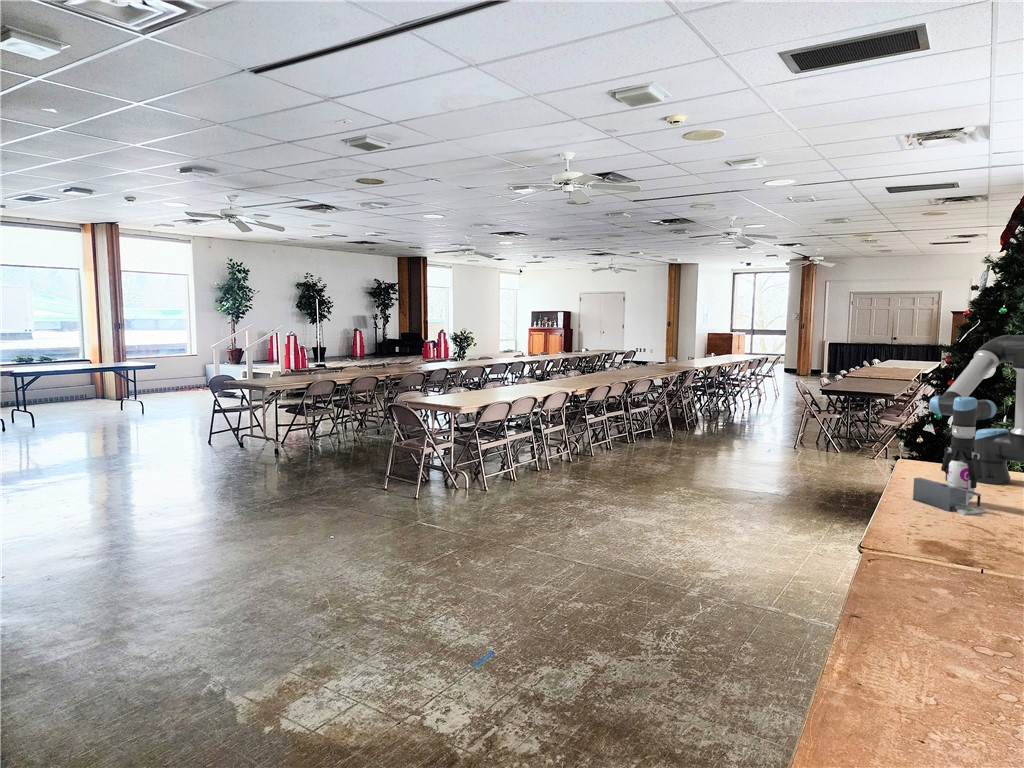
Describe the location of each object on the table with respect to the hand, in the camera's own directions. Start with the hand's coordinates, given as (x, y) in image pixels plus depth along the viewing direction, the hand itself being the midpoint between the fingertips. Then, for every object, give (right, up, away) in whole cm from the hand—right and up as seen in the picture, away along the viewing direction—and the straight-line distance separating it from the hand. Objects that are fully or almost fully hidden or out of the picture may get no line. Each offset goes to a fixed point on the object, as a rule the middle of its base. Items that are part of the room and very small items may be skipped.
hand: (960, 492), depth 254 cm
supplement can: (0, -3, 0) cm, 2 cm away
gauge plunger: (-4, -3, -3) cm, 6 cm away
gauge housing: (-8, -4, -4) cm, 10 cm away
